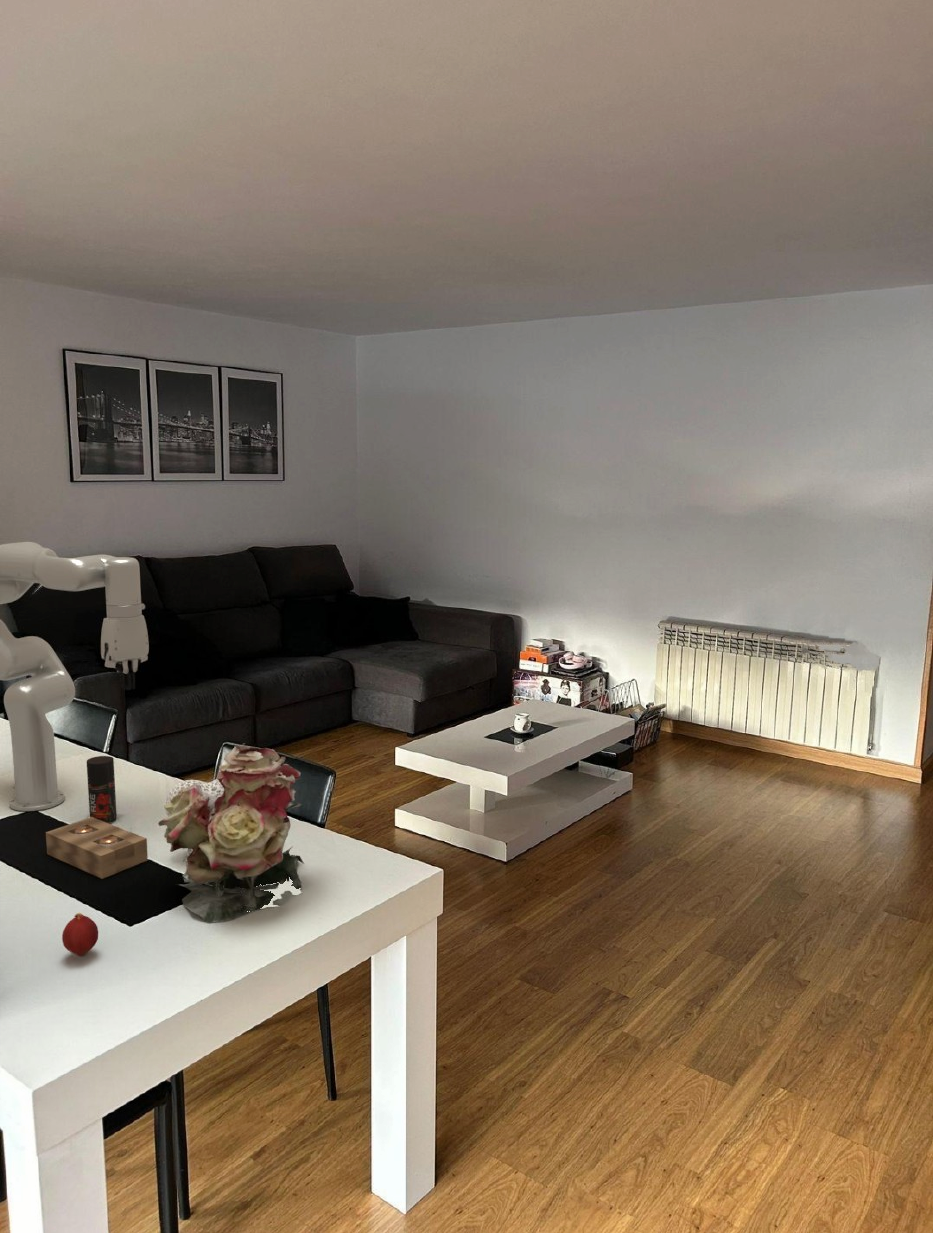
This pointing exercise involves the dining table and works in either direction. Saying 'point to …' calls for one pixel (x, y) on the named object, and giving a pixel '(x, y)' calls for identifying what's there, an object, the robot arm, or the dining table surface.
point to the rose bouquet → (235, 834)
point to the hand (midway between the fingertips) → (128, 688)
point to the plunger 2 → (108, 841)
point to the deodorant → (101, 788)
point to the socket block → (97, 847)
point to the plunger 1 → (83, 830)
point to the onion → (80, 935)
